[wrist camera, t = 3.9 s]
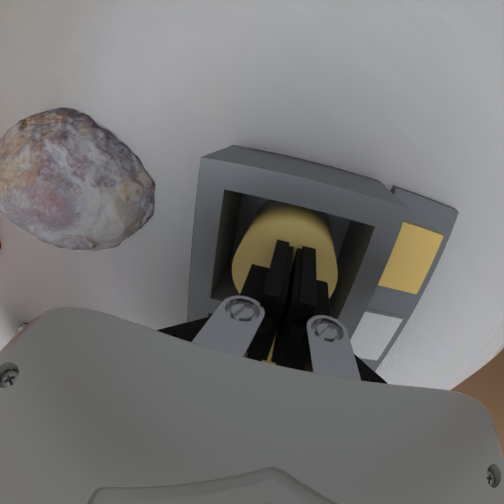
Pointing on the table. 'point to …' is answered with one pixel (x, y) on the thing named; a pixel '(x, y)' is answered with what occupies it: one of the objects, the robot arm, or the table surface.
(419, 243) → the strip
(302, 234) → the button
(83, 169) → the stone
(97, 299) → the table surface
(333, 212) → the grey compartment tray
